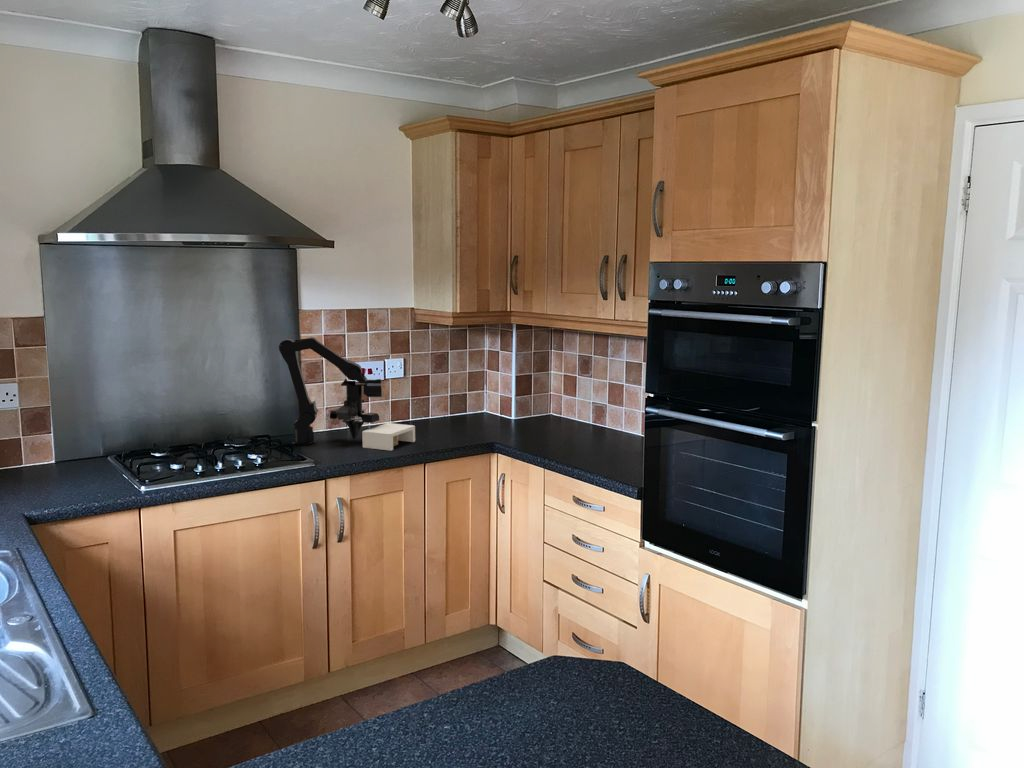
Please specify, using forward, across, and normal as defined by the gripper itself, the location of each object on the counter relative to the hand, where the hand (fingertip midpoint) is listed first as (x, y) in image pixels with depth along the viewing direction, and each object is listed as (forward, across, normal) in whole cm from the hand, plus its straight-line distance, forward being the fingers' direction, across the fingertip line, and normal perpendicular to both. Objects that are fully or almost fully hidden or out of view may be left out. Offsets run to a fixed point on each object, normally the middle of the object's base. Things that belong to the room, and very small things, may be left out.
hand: (354, 438), depth 312 cm
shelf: (+1, +14, +2) cm, 14 cm away
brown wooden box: (+1, +12, +1) cm, 12 cm away
